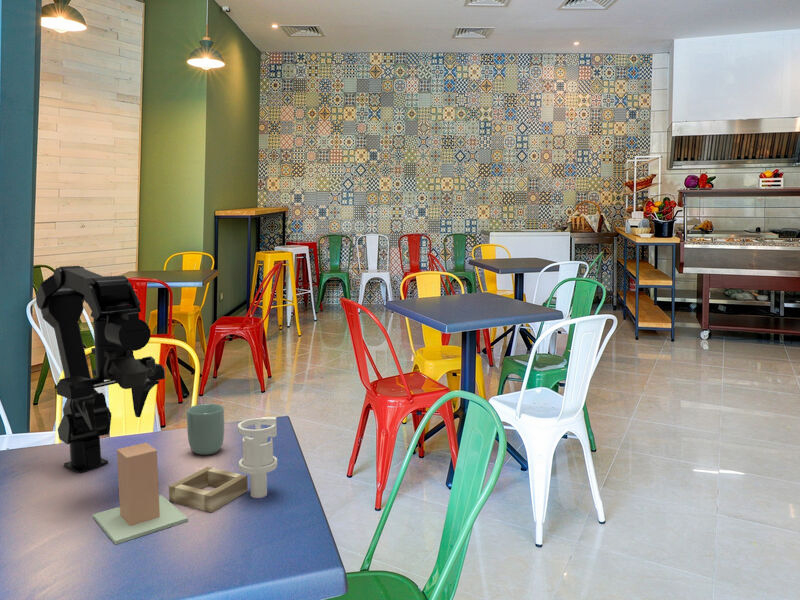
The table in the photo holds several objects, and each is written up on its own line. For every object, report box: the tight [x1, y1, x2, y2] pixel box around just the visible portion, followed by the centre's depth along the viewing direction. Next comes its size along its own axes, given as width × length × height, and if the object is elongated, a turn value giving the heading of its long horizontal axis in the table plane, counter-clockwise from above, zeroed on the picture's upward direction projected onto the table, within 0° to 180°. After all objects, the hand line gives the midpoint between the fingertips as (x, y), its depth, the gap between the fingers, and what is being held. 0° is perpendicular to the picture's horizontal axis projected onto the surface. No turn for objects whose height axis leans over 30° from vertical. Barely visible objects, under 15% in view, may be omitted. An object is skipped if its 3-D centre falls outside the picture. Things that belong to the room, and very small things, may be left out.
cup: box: [186, 403, 225, 456], centre depth 140 cm, size 8×8×10 cm
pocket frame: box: [168, 466, 249, 513], centre depth 118 cm, size 10×10×3 cm
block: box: [116, 442, 160, 526], centre depth 108 cm, size 5×5×12 cm
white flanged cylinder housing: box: [237, 416, 278, 499], centre depth 118 cm, size 7×7×15 cm
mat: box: [92, 494, 189, 545], centre depth 109 cm, size 12×12×1 cm
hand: (115, 423), depth 120 cm, fingers open, 9 cm apart
